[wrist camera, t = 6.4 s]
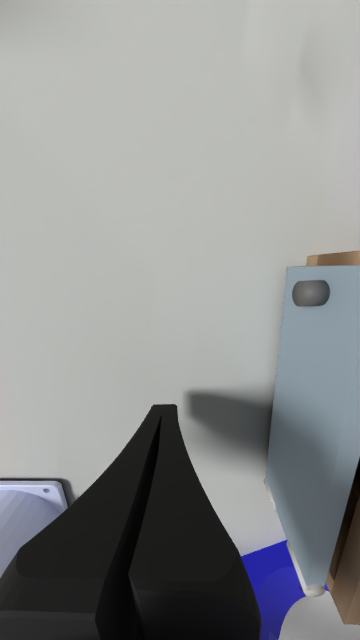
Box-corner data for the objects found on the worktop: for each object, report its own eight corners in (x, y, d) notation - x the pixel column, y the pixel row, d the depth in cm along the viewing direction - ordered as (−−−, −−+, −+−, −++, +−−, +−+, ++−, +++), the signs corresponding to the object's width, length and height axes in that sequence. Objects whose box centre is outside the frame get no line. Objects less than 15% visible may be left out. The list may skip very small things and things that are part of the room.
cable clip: (239, 587, 18) (264, 733, 13) (214, 563, 18) (228, 708, 12) (359, 547, 16) (455, 701, 10) (338, 517, 15) (430, 668, 10)
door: (253, 485, 14) (287, 596, 9) (271, 267, 10) (349, 266, 5) (277, 485, 14) (323, 597, 9) (305, 265, 10) (416, 263, 5)
